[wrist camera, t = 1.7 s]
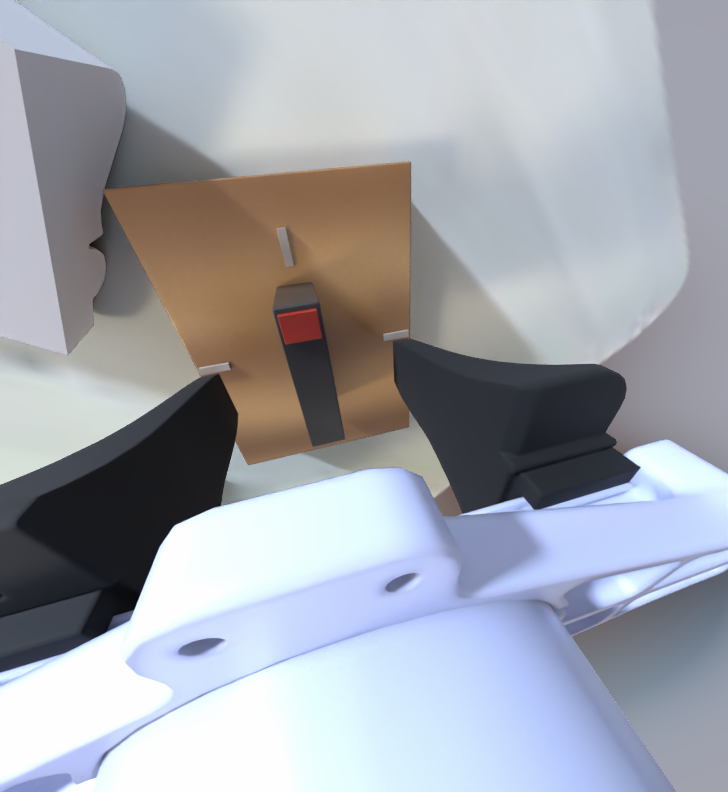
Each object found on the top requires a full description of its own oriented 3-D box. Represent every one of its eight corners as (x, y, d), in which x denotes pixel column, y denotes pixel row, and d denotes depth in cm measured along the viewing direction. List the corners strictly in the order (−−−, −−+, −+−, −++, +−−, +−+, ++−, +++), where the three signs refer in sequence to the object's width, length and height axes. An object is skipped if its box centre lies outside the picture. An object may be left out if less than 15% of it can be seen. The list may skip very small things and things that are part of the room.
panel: (395, 403, 21) (410, 428, 18) (253, 434, 19) (247, 467, 17) (388, 172, 13) (413, 160, 10) (141, 196, 11) (97, 188, 9)
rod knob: (335, 398, 15) (346, 443, 12) (308, 404, 15) (312, 451, 12) (312, 281, 12) (320, 303, 9) (276, 286, 11) (270, 311, 8)
